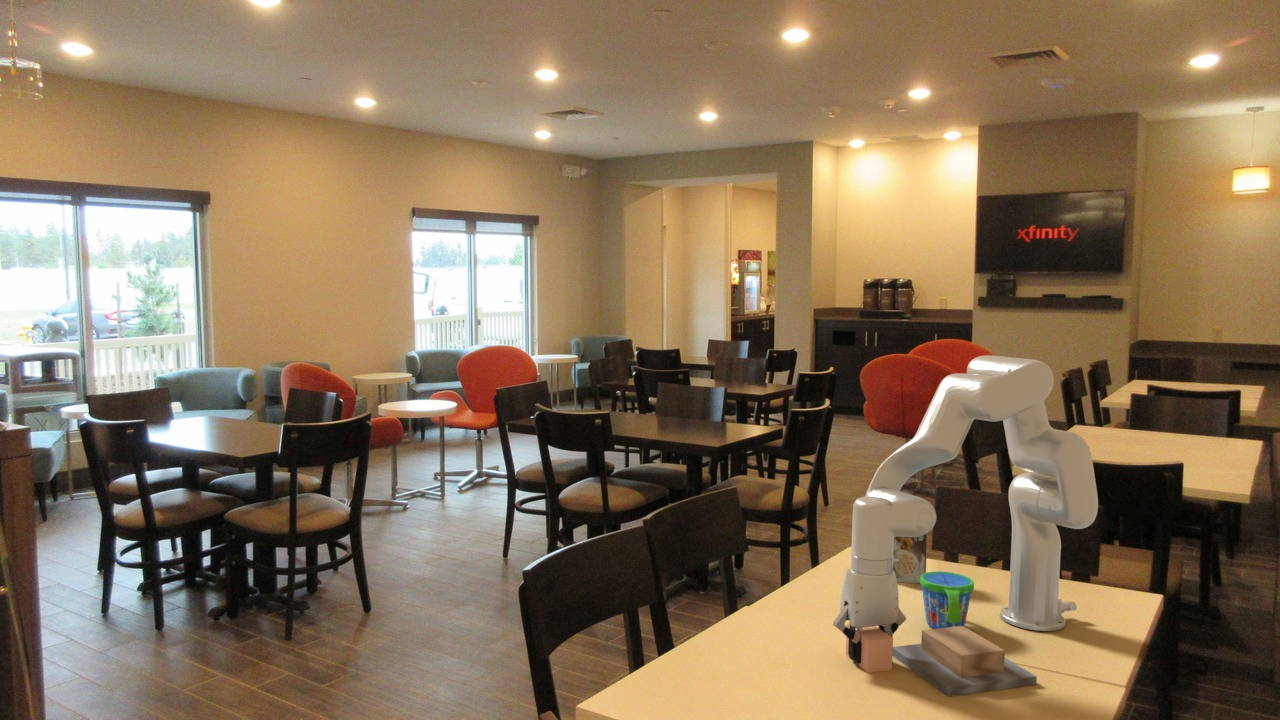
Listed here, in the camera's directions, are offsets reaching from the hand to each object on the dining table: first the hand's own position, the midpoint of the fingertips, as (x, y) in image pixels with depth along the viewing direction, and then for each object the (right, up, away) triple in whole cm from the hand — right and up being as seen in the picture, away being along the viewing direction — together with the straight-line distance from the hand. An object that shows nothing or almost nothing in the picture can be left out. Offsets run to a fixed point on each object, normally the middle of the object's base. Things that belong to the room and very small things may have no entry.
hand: (868, 658), depth 166 cm
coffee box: (+21, +3, +49) cm, 53 cm away
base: (+16, -1, -3) cm, 17 cm away
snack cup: (+21, 0, +18) cm, 28 cm away
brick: (0, -1, 0) cm, 1 cm away
